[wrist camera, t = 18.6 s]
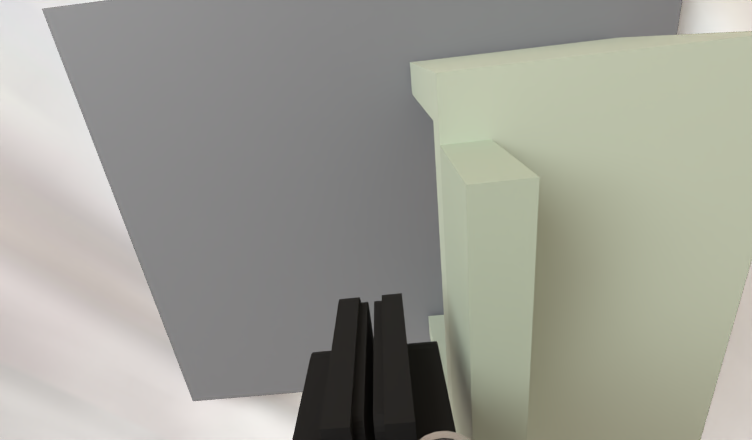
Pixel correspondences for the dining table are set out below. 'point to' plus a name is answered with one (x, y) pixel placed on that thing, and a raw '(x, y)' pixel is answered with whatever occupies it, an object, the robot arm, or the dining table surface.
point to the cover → (590, 232)
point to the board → (287, 157)
